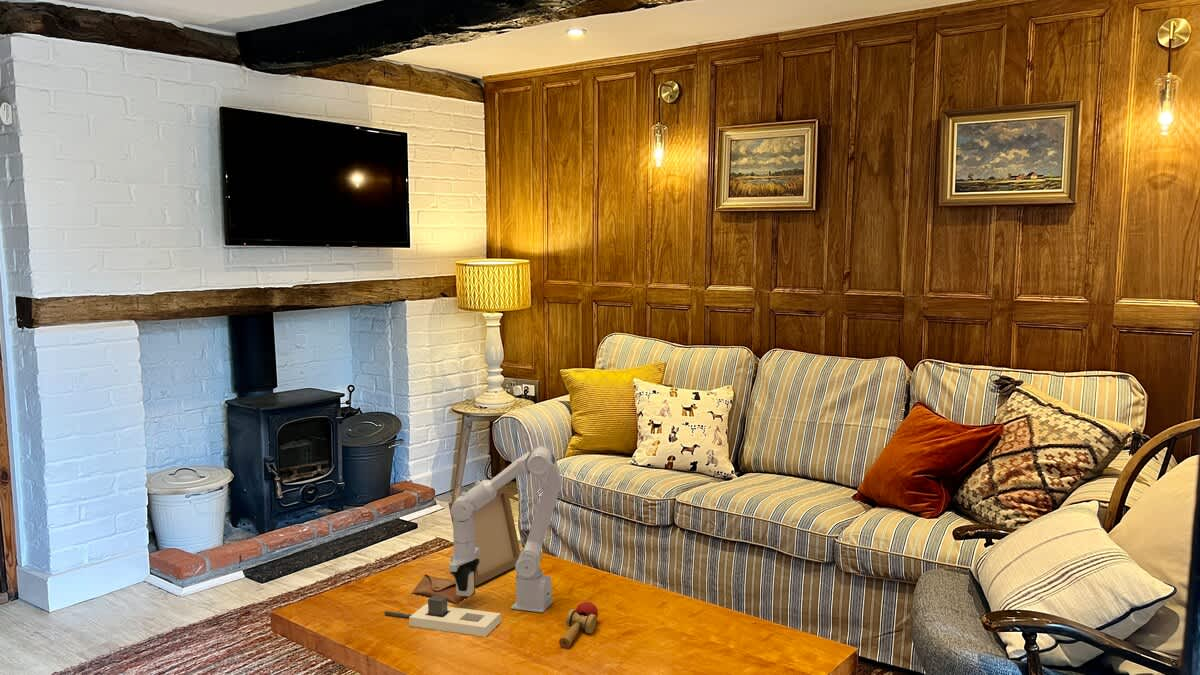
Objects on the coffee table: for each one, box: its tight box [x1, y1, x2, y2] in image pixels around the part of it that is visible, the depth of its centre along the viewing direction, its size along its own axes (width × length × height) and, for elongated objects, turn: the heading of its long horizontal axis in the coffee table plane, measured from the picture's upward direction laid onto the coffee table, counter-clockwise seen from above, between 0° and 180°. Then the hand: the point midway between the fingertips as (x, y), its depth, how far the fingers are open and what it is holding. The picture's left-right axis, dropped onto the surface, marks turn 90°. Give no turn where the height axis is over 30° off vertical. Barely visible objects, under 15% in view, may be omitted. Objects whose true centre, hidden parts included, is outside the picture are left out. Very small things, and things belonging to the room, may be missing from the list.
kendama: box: [558, 601, 599, 649], centre depth 224 cm, size 8×6×18 cm
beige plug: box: [456, 571, 475, 597], centre depth 243 cm, size 4×3×6 cm
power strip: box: [384, 595, 502, 638], centre depth 232 cm, size 32×9×6 cm, turn 72°
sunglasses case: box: [410, 574, 476, 605], centre depth 252 cm, size 18×7×7 cm, turn 63°
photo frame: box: [448, 484, 521, 587], centre depth 267 cm, size 15×22×25 cm
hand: (465, 588), depth 243 cm, fingers closed on beige plug, 3 cm apart
